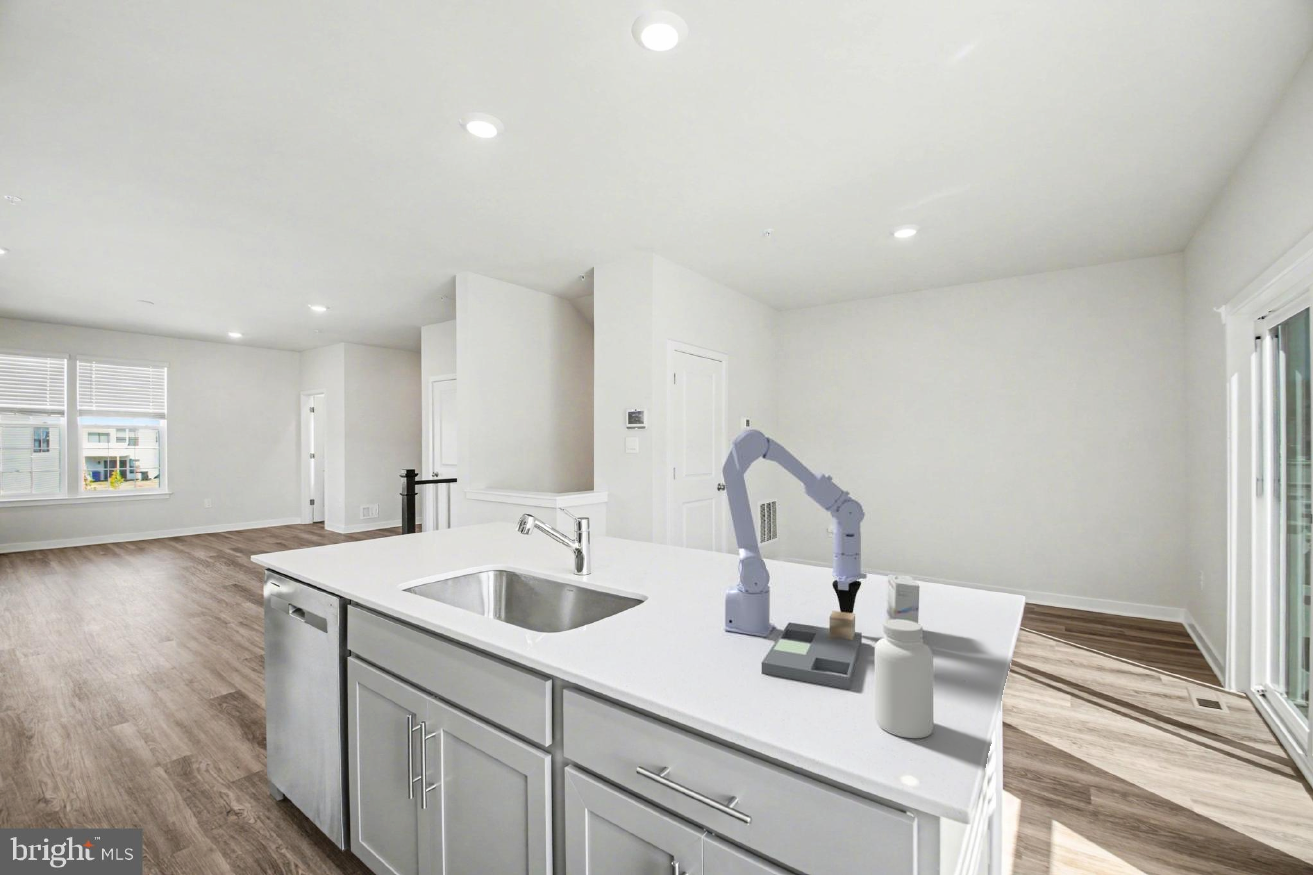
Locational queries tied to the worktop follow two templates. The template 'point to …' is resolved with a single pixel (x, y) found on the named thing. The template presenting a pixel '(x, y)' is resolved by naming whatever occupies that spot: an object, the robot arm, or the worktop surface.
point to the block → (842, 625)
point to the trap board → (813, 656)
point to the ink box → (902, 598)
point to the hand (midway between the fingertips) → (846, 615)
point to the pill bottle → (904, 680)
